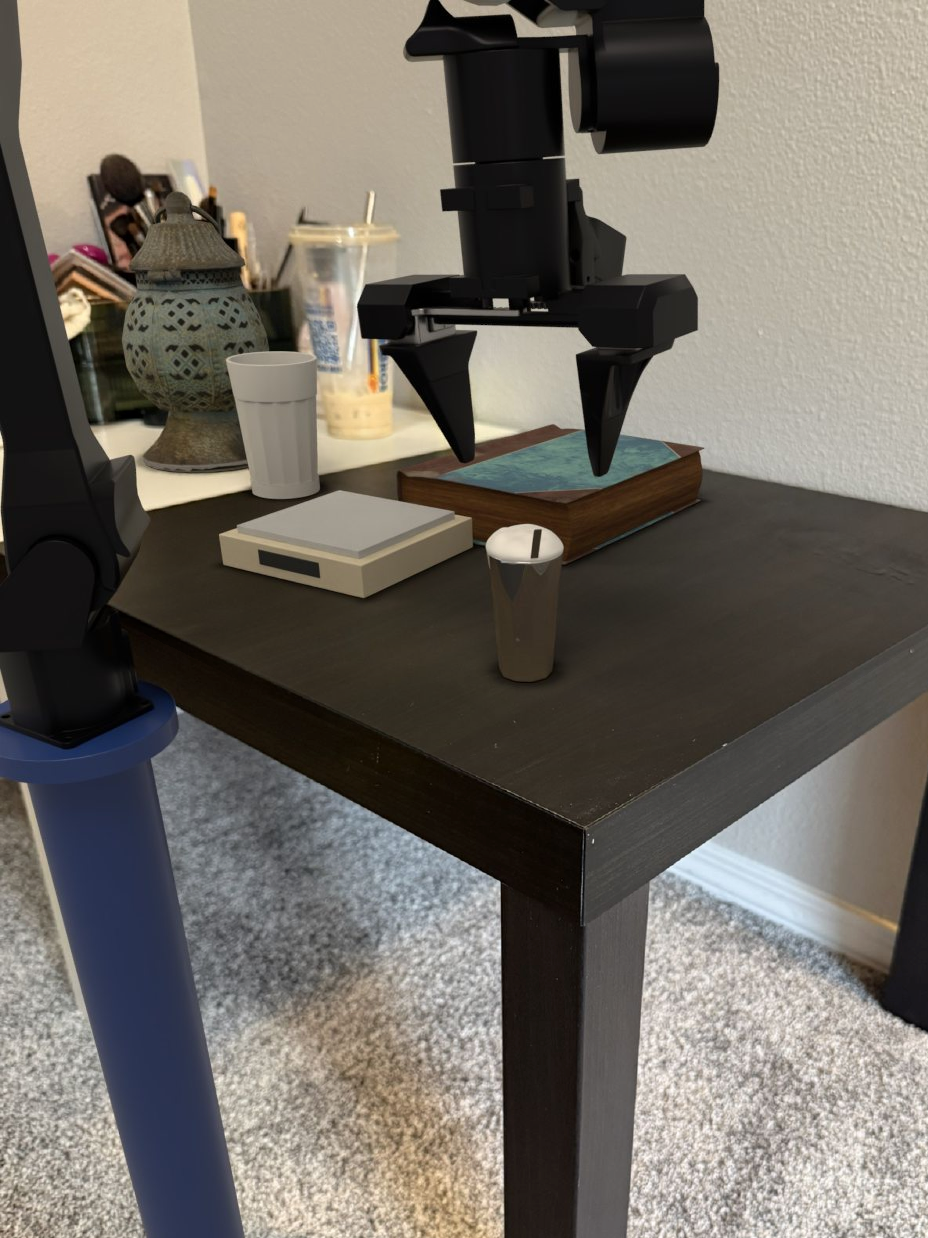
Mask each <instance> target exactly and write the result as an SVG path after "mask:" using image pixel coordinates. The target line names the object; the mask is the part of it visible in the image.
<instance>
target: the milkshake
mask: <svg viewBox="0 0 928 1238" xmlns="http://www.w3.org/2000/svg"><path fill="white" fill-rule="evenodd" d="M563 549H564V547H563V544H562V542H561V540H560V539H559V538H558V537H557V536H556V535H555V534H554V533H553V532H552V531H550V530H548V529H546V528H543V527H540V526H537V525H533V524H521V525H515V526H511V527H504V528H501V529H499V530H497V531H496V532H494V533H493V534H492V535H491V536H490V538H489V539H488V540H487V543H486V547H485V551H486V559H487V566H488V574H489V582H490V590H491V598H492V599H491V600H492V607H493V618H494V619H493V620H494V629H495V640H496V649H497V661H498V669H499V672H500V673H501V675H502V677H503V678H505V679H507V680H511V681H514V682H520V683H521V682H523V683H524V682H528V683H533V682H537V681H541V680H544V679H547V678H548V677H549V676H550V675H551V674H552V672H553V667H554V657H555V656H554V655H555V643H556V633H557V632H556V631H557V621H558V619H557V618H558V606H559V594H560V585H561V575H562V566H563V564H562V558H563Z"/></svg>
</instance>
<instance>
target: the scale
mask: <svg viewBox="0 0 928 1238" xmlns="http://www.w3.org/2000/svg"><path fill="white" fill-rule="evenodd" d="M218 537H219V544H220V545H219V546H220V550H221V558H222V564H223V566H227V567H231V568H234V569H239V570H243V571H247V572H251V573H255V574H259V575H265V576H268V577H273V578H277V579H281V580H285V581H289V582H293V583H298V584H301V585H306V586H310V587H315V588H319V589H323V590H328V591H330V592H336V593H340V594H344V595H348V596H353V597H357V598H361V599H365V598H368V597H370V596H372V595H375V594H376V593H378V592H380V591H382V590H385V589H387V588H389V587H392V586H393V585H395V584H398V583H400V582H402V581H404V580H405V579H408V578H410V577H412V576H414V575H416V574H419V573H421V572H424V571H426V570H427V569H430V568H432V567H433V566H434V567H435V566H436V565H438V564H441V563H442V562H444V561H447V560H448V559H451V558H452V557H454V556H457V555H459V554H462V553H463V552H466V551H468V550H470V549H472V548H474V544H473V537H472V518H471V517H465V516H460V515H455V512H454V511H449V510H444V509H438V508H433V507H427V506H422V505H417V504H411V503H406V502H400V501H398V500H395V499H390V498H384V497H377V496H372V495H369V494H368V495H367V494H363V493H357V492H352V491H346V490H341V489H339V490H335V491H332V492H330V493H327V494H325V495H324V494H323V495H321V496H318V497H316V498H313V499H310V500H307V501H304V502H301V503H299V504H295V505H292V506H289V507H287V508H284V509H280V510H278V511H275V512H272V513H268V514H266V515H263V516H260V517H257V518H254V519H252V520H248V521H246V522H242V523H239V524H237V525H236V528H233V529H230V530H227V531H224V532H222V533H218Z"/></svg>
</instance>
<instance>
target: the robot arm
mask: <svg viewBox="0 0 928 1238" xmlns="http://www.w3.org/2000/svg"><path fill="white" fill-rule="evenodd" d="M463 1H464V2H467V3H469V4H472V5H475V6H478V7H489V6H490V7H497V6H500V5H504V4H505V5H506V6H508V7H509V8H510V9H512V10H513V11H515V12H516V13H517V14H519V15H520V16H522V17H523V18H525V19H526V20H527V21H529V22H530V23H531V24H533V25H534V26H536V27H537V28H540V29H552V28H566V27H567V28H568V27H570V28H571V27H575V34H569V35H553V36H518V31H517V27H516V23H515V19H514V17H513V16H512V14H510V13H503V14H486V15H469V16H468V15H467V16H454V15H452V14H451V13H450V12H449V11H448V10H447V9H446V7H445V6H444V5H443V4H442V2H441V1H440V0H428V3H427V5H426V7H425V11H424V15H423V18H422V19H421V22H420V24H419V26H418V27H417V28H416V29H415V31H414V32H413V33H412V34H411V35H410V36H409V37H408V38H407V39H406V41H405V43H404V46H403V50H402V55H403V57H404V59H405V60H406V61H407V62H410V63H420V62H436V61H442V63H443V74H444V75H443V76H444V84H445V95H446V105H447V106H446V107H447V117H448V126H449V127H448V128H449V135H450V145H451V146H450V147H451V158H452V164H455V165H452V167H453V178H454V179H453V180H454V187H449V188H440V189H439V194H440V202H441V203H440V204H441V212H443V213H444V212H457V220H458V229H459V230H458V231H459V240H460V252H461V262H462V272H463V274H409V275H404V276H399V277H394V278H390V279H384V280H380V281H374V282H370V283H366V284H364V286H363V289H362V291H361V293H360V295H359V299H358V301H357V303H356V311H357V318H358V326H359V332H360V337H361V340H383V341H385V340H386V343H382V344H379V345H378V348H379V352H380V355H381V356H386V357H387V356H388V357H390V358H391V359H392V360H393V361H394V363H395V364H396V366H397V367H398V369H399V370H400V372H402V374H403V375H404V377H405V378H406V380H407V381H408V382H409V384H410V385H411V386H412V388H413V390H414V391H415V393H417V395H418V397H419V398H420V399H421V401H422V402H423V404H424V405H425V407H426V410H428V412H429V414H430V415H431V417H432V419H433V421H434V422H435V424H436V426H437V427H438V429H439V430H440V432H441V434H442V435H443V437H444V439H445V440H446V442H447V444H448V445H449V447H450V449H451V451H452V453H453V454H455V455H456V457H457V459H458V460H459V462H460V463H465V464H466V463H469V462H471V461H473V460H474V458H475V447H476V429H475V419H474V408H473V399H472V398H473V396H472V388H471V387H472V386H471V377H470V369H469V366H470V365H469V364H470V360H471V356H472V353H473V349H474V347H475V343H476V340H477V336H478V330H476V329H475V330H473V329H471V330H470V329H457V328H456V326H490V327H491V326H492V327H494V326H495V327H530V328H531V327H532V328H533V327H534V328H567V329H568V328H569V329H570V328H571V329H572V328H573V329H577V330H578V332H579V333H580V334H581V335H582V336H583V337H584V339H585V340H586V341H587V342H588V344H589V345H590V346H591V347H592V348H590V349H587V350H585V351H581V352H578V353H576V354H575V363H576V372H577V378H578V379H577V380H578V389H579V395H580V401H581V402H580V403H581V409H582V417H583V425H584V430H585V435H586V442H587V450H588V456H589V460H590V464H591V468H592V472H593V475H594V476H595V477H602V476H603V475H605V474H607V473H608V471H609V469H610V465H611V462H612V459H613V456H614V452H615V449H616V446H617V442H618V439H619V436H620V435H621V433H622V430H623V429H622V428H623V425H624V422H625V419H626V415H627V413H628V409H629V406H630V404H631V400H632V397H633V396H634V392H635V390H636V388H637V386H638V383H639V381H640V378H641V377H642V374H643V373H644V371H645V369H646V368H647V367H648V365H649V364H650V362H651V361H652V360H653V358H654V357H655V356H657V355H659V354H662V353H664V352H667V351H669V350H672V349H673V347H674V344H675V341H676V339H678V338H681V337H684V336H686V335H689V334H692V333H694V332H697V331H698V330H699V297H698V294H697V292H696V289H695V288H694V286H693V284H692V282H691V281H690V280H689V278H688V277H687V275H686V273H648V274H647V273H640V274H639V273H627V274H623V272H624V271H623V269H624V262H625V254H626V245H627V240H628V239H627V236H626V235H625V234H623V233H622V232H621V231H619V230H618V229H615V228H614V227H612V226H611V225H609V224H608V223H606V222H604V221H603V220H601V219H599V218H596V217H594V216H590V215H588V214H587V213H586V210H585V207H584V195H583V194H584V192H583V189H582V187H581V184H580V178H567V167H566V157H565V156H566V149H565V130H564V110H563V93H562V92H563V91H562V90H563V89H562V72H561V71H562V70H561V54H567V64H568V65H567V73H568V74H567V75H568V76H567V79H568V80H567V82H568V84H567V87H568V103H569V112H570V118H571V124H572V128H573V130H574V133H576V134H590V138H591V142H592V146H593V149H594V151H595V152H596V154H597V155H608V154H622V153H623V154H624V153H637V152H638V153H639V152H651V151H665V150H682V149H694V148H696V149H697V148H705V147H706V146H707V145H708V144H709V142H710V140H711V138H712V136H713V132H714V129H715V126H716V121H717V116H718V106H719V98H720V96H719V95H720V64H719V62H718V61H717V62H716V57H715V48H714V40H713V35H712V31H711V27H710V24H709V22H708V20H707V17H706V15H705V0H463ZM18 8H19V7H18V0H0V436H1V440H2V448H3V451H2V452H3V457H2V476H1V478H2V479H1V492H0V520H1V529H2V531H1V532H2V538H3V539H2V541H3V548H4V559H5V566H6V571H7V574H8V575H7V576H6V577H5V579H4V580H3V581H2V582H1V584H0V675H1V679H2V683H3V687H4V690H5V694H6V698H7V700H8V702H9V706H10V710H11V711H8V712H6V713H4V714H1V715H0V726H1V727H4V728H7V729H9V730H12V731H15V732H17V733H20V734H23V735H26V736H28V737H31V738H34V739H36V740H39V741H42V742H44V743H47V744H50V745H52V746H55V747H58V748H60V749H64V750H68V749H73V748H75V747H77V746H79V745H82V744H84V743H86V742H88V741H90V740H92V739H94V738H96V737H98V736H100V735H102V734H104V733H106V732H109V731H111V730H113V729H115V728H117V727H119V726H121V725H123V724H125V723H127V722H129V721H131V720H133V719H136V718H138V717H140V716H142V715H144V714H146V713H148V712H150V711H152V710H153V709H154V704H153V701H152V700H149V699H146V698H143V697H140V696H137V695H135V693H137V692H138V690H139V686H138V681H137V679H138V678H137V671H136V666H135V661H134V660H135V659H134V656H133V655H134V654H133V651H132V646H131V641H130V636H129V635H130V634H129V632H128V631H127V630H126V629H124V628H122V627H123V626H122V623H121V618H120V613H119V610H118V609H114V608H111V607H107V606H105V605H107V604H109V602H110V601H111V599H112V598H113V597H114V595H116V593H117V592H118V590H119V588H120V587H121V585H122V583H123V581H124V580H125V578H126V576H127V574H128V572H129V571H130V570H131V568H132V566H133V563H134V562H135V560H136V558H137V556H138V554H139V552H140V549H141V545H142V536H143V535H144V533H145V531H146V530H147V528H148V526H149V524H150V523H151V522H152V520H151V519H152V518H151V517H150V516H149V514H148V513H147V511H146V510H145V509H144V507H143V505H142V502H141V499H140V497H139V491H138V485H137V484H138V481H137V480H138V478H137V465H136V459H135V456H134V455H133V454H127V455H123V456H119V457H115V458H109V456H108V454H107V453H106V451H105V449H104V447H103V446H102V444H101V443H100V442H99V440H98V439H97V436H96V435H95V433H94V431H93V430H92V427H91V425H90V423H89V420H88V415H87V412H86V407H85V403H84V399H83V394H82V391H81V387H80V383H79V382H80V381H79V378H78V375H77V370H76V365H75V362H74V358H73V353H72V349H71V346H70V341H69V338H68V337H69V336H68V334H67V329H66V325H65V321H64V316H63V313H62V309H61V304H60V299H59V296H58V292H57V288H56V283H55V279H54V276H53V271H52V267H51V263H50V260H49V258H50V257H49V254H48V250H47V246H46V242H45V238H44V234H43V230H42V226H41V222H40V217H39V214H38V213H39V212H38V209H37V205H36V201H35V196H34V192H33V189H32V184H31V180H30V177H29V172H28V167H27V164H26V160H25V155H24V153H23V148H22V144H21V138H20V123H19V122H20V109H21V91H22V90H21V88H22V87H21V86H22V72H23V71H22V70H23V57H22V46H21V34H20V33H21V31H20V22H19V20H20V19H19V9H18ZM495 299H496V300H507V301H508V302H507V303H508V306H505V307H503V306H499V307H498V306H497V307H496V306H494V300H495ZM531 299H533V300H531Z"/></svg>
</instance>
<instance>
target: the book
mask: <svg viewBox="0 0 928 1238" xmlns="http://www.w3.org/2000/svg"><path fill="white" fill-rule="evenodd" d="M702 450H705V447H703V446H697V445H692V444H686V443H679V442H672V441H665V440H659V439H653V438H646V437H639V436H633V435H628V434H620V436H619V439H618V442H617V446H616V449H615V452H614V456H613V459H612V462H611V465H610V469H609V471H608V473H607V474H605V475H603V476H602V477H595V476H594V475H593V472H592V468H591V464H590V460H589V456H588V450H587V442H586V435H585V429H583V428H570V427H569V428H566V427H565V428H561V427H559V426H558V425H556V424H555V423H551V424H548V425H544V426H542V427H537V428H534V429H530V430H528V431H524V432H521V433H518V434H515V435H511V436H508V437H505V438H501V439H497V440H494V441H491V442H487V443H484V444H481V445H478V446H477V445H476V446H475V458H474V460H473V461H471V462H469V463H466V464H465V463H460V462H459V460H458V459H457V457H456V455H455V454H454V453H451V454H447V455H444V456H441V457H437V458H434V459H430V460H427V461H423V462H421V463H417V464H413V465H410V466H407V467H404V468H400V469H398V470H397V471H396V493H397V501H400V502H406V503H411V504H417V505H422V506H427V507H433V508H438V509H444V510H449V511H454V512H455V515H460V516H465V517H471V518H472V537H473V545H478V546H481V547H485V548H486V543H487V540H488V539H489V538H490V536H491V535H492V534H493V533H494V532H496V531H497V530H499V529H501V528H504V527H511V526H515V525H521V524H533V525H537V526H540V527H543V528H546V529H548V530H550V531H552V532H553V533H554V534H555V535H556V536H557V537H558V538H559V539H560V540H561V542H562V544H563V547H564V549H563V558H562V566H565V565H568V564H570V563H572V562H574V561H576V560H579V559H581V558H583V557H585V556H588V555H589V554H591V553H593V552H595V551H598V550H600V549H602V548H604V547H607V546H608V545H611V544H613V543H615V542H618V541H619V540H621V539H623V538H625V537H627V536H630V535H632V534H634V533H636V532H639V531H640V530H642V529H645V528H646V527H649V526H651V525H653V524H655V523H657V522H659V521H661V520H664V519H666V518H667V517H670V516H672V515H674V514H677V513H678V512H681V511H683V510H685V509H687V508H689V507H691V506H693V505H695V504H697V503H700V502H701V500H702V499H698V496H699V492H700V490H701V489H700V488H701V486H702V483H703V475H704V472H703V465H702V455H701V453H700V451H702Z"/></svg>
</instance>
